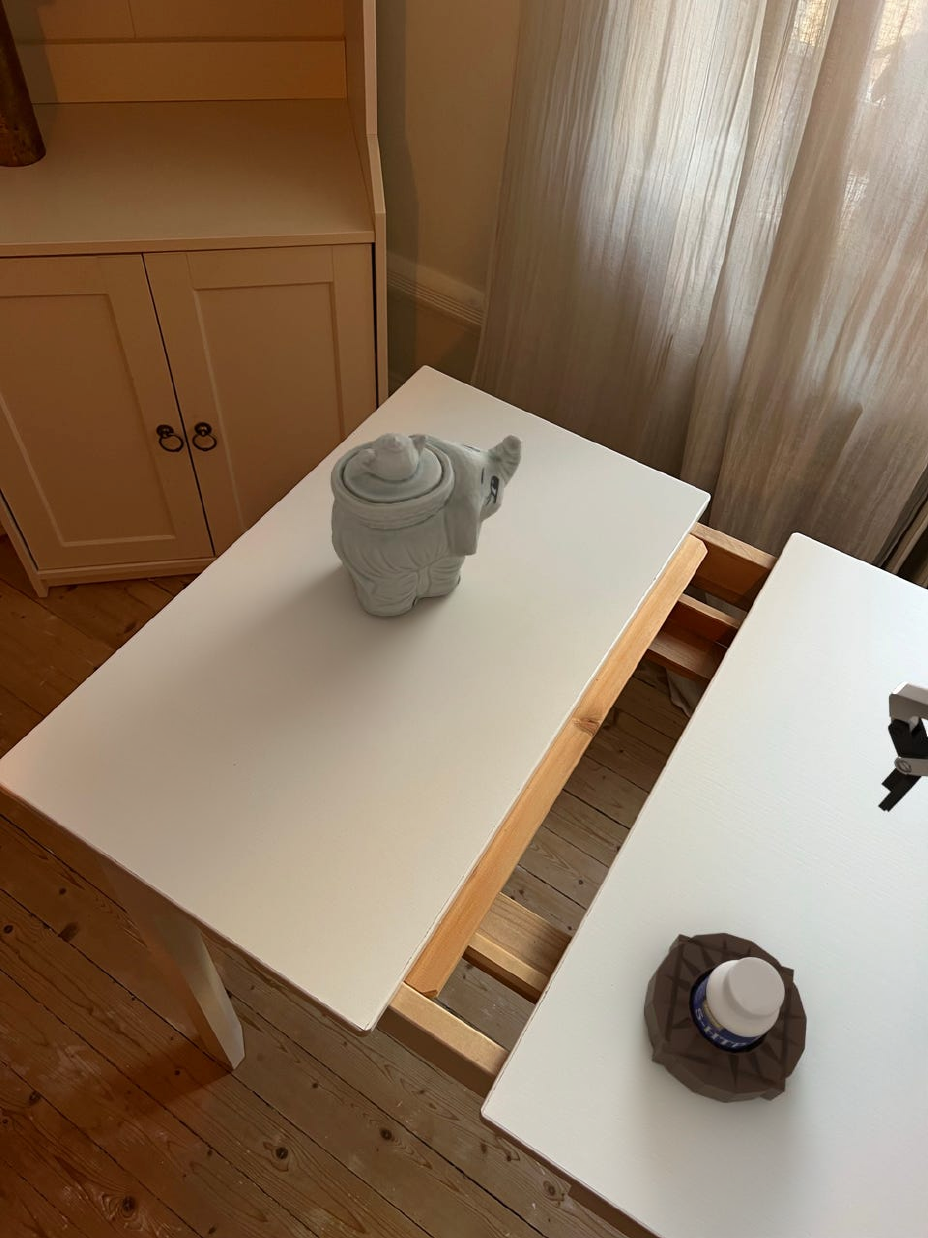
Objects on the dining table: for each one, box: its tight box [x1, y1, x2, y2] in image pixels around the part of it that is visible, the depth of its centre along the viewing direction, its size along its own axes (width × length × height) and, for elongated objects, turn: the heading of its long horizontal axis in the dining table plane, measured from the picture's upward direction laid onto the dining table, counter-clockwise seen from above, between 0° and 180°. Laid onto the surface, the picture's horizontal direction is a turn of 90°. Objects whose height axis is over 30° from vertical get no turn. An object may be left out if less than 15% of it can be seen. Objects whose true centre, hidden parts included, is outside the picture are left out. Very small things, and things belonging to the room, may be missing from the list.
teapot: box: [329, 432, 523, 617], centre depth 91 cm, size 16×15×19 cm
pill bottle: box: [689, 957, 785, 1053], centre depth 70 cm, size 5×5×9 cm
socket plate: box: [643, 932, 808, 1104], centre depth 72 cm, size 11×11×3 cm
